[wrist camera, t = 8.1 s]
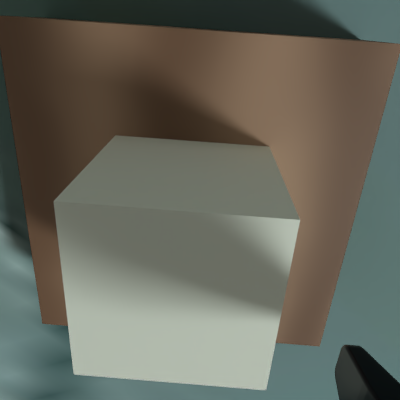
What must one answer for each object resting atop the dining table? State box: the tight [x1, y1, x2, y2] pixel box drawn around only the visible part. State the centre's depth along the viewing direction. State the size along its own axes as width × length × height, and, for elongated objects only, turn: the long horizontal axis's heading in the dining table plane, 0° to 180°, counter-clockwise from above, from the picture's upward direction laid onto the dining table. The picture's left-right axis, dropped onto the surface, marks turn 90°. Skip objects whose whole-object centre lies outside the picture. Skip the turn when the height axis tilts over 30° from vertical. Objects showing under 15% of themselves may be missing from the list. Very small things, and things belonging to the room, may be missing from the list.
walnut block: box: [0, 16, 400, 346], centre depth 18 cm, size 14×14×4 cm
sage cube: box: [54, 135, 300, 390], centre depth 13 cm, size 6×6×6 cm
